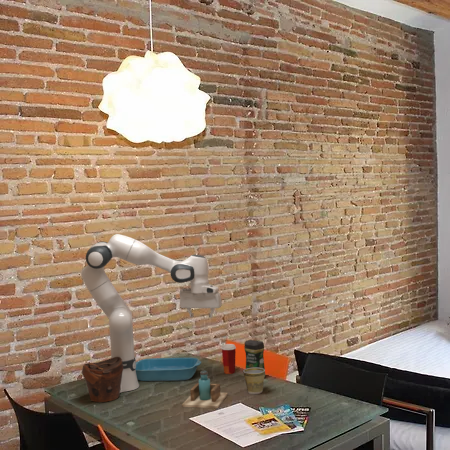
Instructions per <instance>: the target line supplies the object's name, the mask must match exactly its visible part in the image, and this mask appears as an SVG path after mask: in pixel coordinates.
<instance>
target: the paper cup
mask: <svg viewBox="0 0 450 450" xmlns="http://www.w3.org/2000/svg"><path fill="white" fill-rule="evenodd" d="M236 349H237V347H236V345H235V344H233V343H226V344H222V345H221V348H220V350H221V354H222V355H221V356H222V363H223V364H222V367H223V374H226V375H233V374H235V373H236Z"/></svg>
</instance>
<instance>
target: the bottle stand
mask: <svg viewBox="0 0 450 450" xmlns="http://www.w3.org/2000/svg"><path fill="white" fill-rule="evenodd" d="M189 390H190V395H189V396H188V397H187V399H185V400H184V402H183V403H182V404H181V407H182V408H199V409H200V408H201V409H218V408H219V407H220V406H221V405H222V404H223V402H224V401H225V400H226V398H227V397H228V395H229V392H222V391H221V384H220V383H210V392H211V399H209V400H200V398H199V382H198V383H195V384H194V385H193V386H192V387H191V389H189Z"/></svg>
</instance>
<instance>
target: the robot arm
mask: <svg viewBox="0 0 450 450" xmlns="http://www.w3.org/2000/svg"><path fill="white" fill-rule="evenodd" d="M113 258H119V259H122V260H123V261H126V262H128V263H131V264H134V265H138V266H144V265H149V266H150V265H151V266H153V267H157V268H159V269H161V270H163V271H166V272H168V273H170V277H171V279H172V281H173V282H175V283H179V284H183V283H187V282H190V288H182V289H180V291H179V298H180V299H179V307H180V308H181V309H186V311H187V313H188V314H189V318H194V317H195V316H194V314H195V313H194V312H192V311H191V310H192V309H210V312H209V313H208V318H210V319H211V318H213V314H214V311H215V309H219V308H221V307H222V306H223V303H222V302H223V301H222V296H221V293H220V292H219V290H220V288H219V286H217V285H212V284H210V280H209V263H208V259H207V258H206V256H203V255H201V254H191V255H190V256H189V257H187V258H186V259H174V258H171V257H168V256H166V255H163V254H160V253H159V252H156V251H155V250H154V249H152V248H151V247H149V246H148V245H146V244H145V243H143V242H141V241H140V240H137V239H135V238H133V237H130V236H127V235H125V234H119V233H116V234H114V235H112V236H111V237H110V238H109V240H108V242H107V241H104V240H103V241H99V242H98V241H97V242H96V243H94V244H92V245H91V246H90V247H89V249H88V250H87V252H86V253H85V262H86V266H84V268H82V270H81V272H80V273H81V274H80V275H81V276H80V277H82V278H81V279H82V280H83V283H84V285H85V286H86V289H87V291H88V292H89V294H90V295H91V296H92V298H93V299H94V301H95V303H96V304H97V306H98V307H99V309H100V310H101V311H102V312H103V314H105V316H106V317H107V319H108V329H109V330H108V331H109V343H110V359H112V358H114V357H120V358H121V359H122V363H123V372H122V379H121V387H120V393H125V392H130V391H133V390H136V389H138V388H139V387H140V383H139V380H138V379H137V376H136V362H137V361H136V357H135V342H134V325H133V313H132V310H131V309H130V307H129V306H128V305H127V303H126V302H125V300H124V299H123V298H122V296H121V295H120V293H119V292H118V290H117V289H116V287H115V286H114V284H113V283H112V281H111V279H110V278H109V276H108V274H107V273H106V272H105V267H106V266H107V265H108V264H109V263H110V262H111V260H112V259H113Z"/></svg>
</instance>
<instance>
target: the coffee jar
mask: <svg viewBox="0 0 450 450" xmlns="http://www.w3.org/2000/svg"><path fill="white" fill-rule="evenodd" d="M243 348H244V352H245V353H244V354H245V369H247V368H263V369H265V370H266V368H265V360H264V351H265V343H264V342H263V341H261V340H254V339H248V340H246V341H245V342H244V347H243ZM265 377H266V375H265V376H264V378H265Z"/></svg>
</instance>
